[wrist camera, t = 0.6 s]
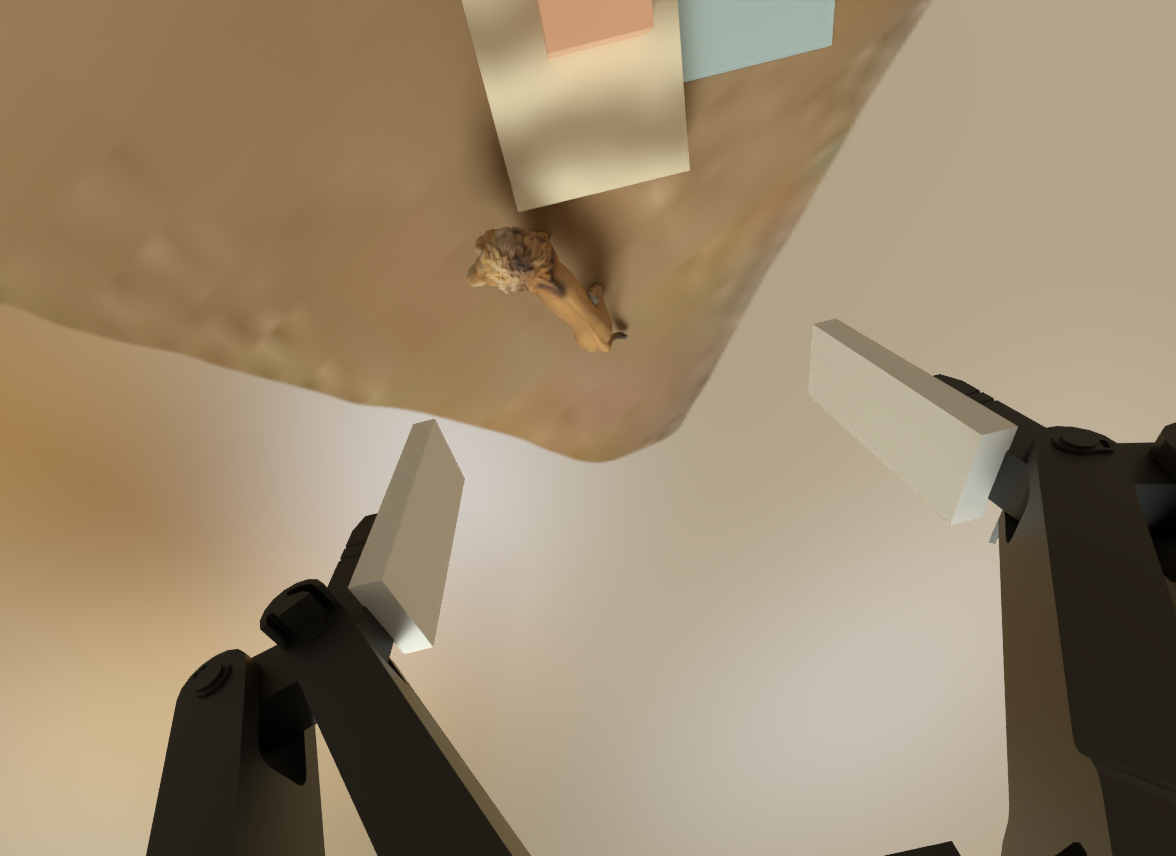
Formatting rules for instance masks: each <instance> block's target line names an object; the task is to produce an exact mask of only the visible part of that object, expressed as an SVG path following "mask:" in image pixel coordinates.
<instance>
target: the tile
mask: <svg viewBox="0 0 1176 856" xmlns="http://www.w3.org/2000/svg"><path fill="white" fill-rule="evenodd" d="M536 5H537V10H538V15H539V20H540V25H541V30H542V35H543V40H544V45H545V50H546V55H547V60H548V59H552V58H556V57H560V56H564V55H568V54H572V53H576V52H579V51H583V50H587V49H591V48H595V47H599V46H603V45H607V44H611V43H615V42H619V41H623V40H627V39H631V38H635V37H639V36H643V35H646V34H647V33H648V32H649V31H650V30H651V29H652V28H653V27H654V19H653V9H652V0H536Z"/></svg>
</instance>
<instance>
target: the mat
mask: <svg viewBox="0 0 1176 856" xmlns="http://www.w3.org/2000/svg"><path fill="white" fill-rule="evenodd" d="M834 7H835V0H678V14H679V28H680V42H681V56H682V70H683V83H684V82H688V81H692V80H696V79H700V78H704V77H708V76H712V75H716V74H720V73H724V72H728V71H732V70H736V69H740V68H744V67H748V66H752V65H756V64H760V63H764V62H768V61H772V60H776V59H780V58H784V57H788V56H792V55H796V54H800V53H804V52H808V51H812V50H816V49H820V48H824V47H828V46H831V45H832V35H833V21H834Z"/></svg>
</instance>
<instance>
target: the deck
mask: <svg viewBox="0 0 1176 856" xmlns="http://www.w3.org/2000/svg"><path fill="white" fill-rule="evenodd" d="M462 3H463V7H464V11H465V15H466V18H467V22H468V26H469V30H470V33H471V37H472V41H473V45H474V48H475V52H476V56H477V60H478V63H479V67H480V71H481V75H482V78H483V82H484V86H485V90H486V93H487V97H488V101H489V105H490V108H491V112H492V116H493V120H494V123H495V127H496V131H497V135H498V138H499V142H500V146H501V150H502V153H503V157H504V161H505V165H506V168H507V172H508V176H509V180H510V183H511V187H512V191H513V195H514V198H515V202H516V206H517V210H518V212H522V211H526V210H530V209H534V208H539V207H543V206H547V205H551V204H555V203H559V202H563V201H567V200H571V199H575V198H579V197H583V196H587V195H591V194H595V193H600V192H604V191H608V190H612V189H616V188H620V187H624V186H628V185H632V184H636V183H640V182H644V181H648V180H652V179H656V178H660V177H665V176H669V175H673V174H677V173H681V172H685V171H689V170H690V168H689V154H688V140H687V126H686V112H685V98H684V84H683V70H682V56H681V42H680V28H679V14H678V0H652V9H653V19H654V27H653V28H652V29H651V30H650V31H649V32H648V33H647V34H646V35H643V36H639V37H635V38H631V39H627V40H623V41H619V42H615V43H611V44H607V45H603V46H599V47H595V48H591V49H587V50H583V51H579V52H576V53H572V54H568V55H564V56H560V57H556V58H552V59H548V60H547V55H546V50H545V45H544V40H543V35H542V30H541V25H540V20H539V15H538V10H537V5H536V0H462Z"/></svg>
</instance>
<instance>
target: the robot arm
mask: <svg viewBox="0 0 1176 856" xmlns="http://www.w3.org/2000/svg"><path fill="white" fill-rule="evenodd" d="M808 395H809V396H811V397H812V398H813V399H814V400H815V401H816V402H817V403H818V404H819V405H820V406H821V407H823V408H824V409H825V410H826V411H827V412H828V413H829V414H830V415H831V416H832V417H833V418H835V419H836V420H837V421H838V422H839V423H840V424H841V425H842V426H843V427H844V428H845V429H846V430H848V431H849V432H850V433H851V434H852V435H853V436H854V437H855V438H856V439H857V440H858V441H860V442H861V443H862V444H863V445H864V446H865V447H866V448H867V449H868V450H869V451H870V452H871V453H873V454H874V455H875V456H876V457H877V458H878V459H879V460H880V461H881V462H882V463H883V464H885V465H886V466H887V467H888V468H889V469H890V470H891V471H892V472H893V473H894V474H895V475H897V476H898V477H899V478H900V479H901V480H902V481H903V482H904V483H905V484H906V485H907V486H908V487H909V488H911V489H912V490H913V491H914V492H915V493H916V494H917V495H918V496H919V497H920V498H921V499H923V500H924V501H925V502H926V503H927V504H928V505H929V506H930V507H931V508H932V509H934V510H935V511H936V512H937V513H938V514H939V515H940V516H941V517H942V518H943V519H944V520H945V521H946V522H948V523H949V524H950V525H952V524H957V523H961V522H966V521H970V520H974V519H978V518H982V515H983V513H984V510H985V508H986V505H987V503H988V500H989V499H990V500H991V501H992V502H994V503H995V504H996V505H997V506H999V507H1000V508H1001V509H1002V512H1001V515H1000V517H999V520H998V522H997V524H996V527H995V529H994V531H993V533H992V536H991V538H990V541H989V542H990V543H994V544H995V543H996V540H997V538H998V537H999V554H1000V579H1001V605H1002V630H1003V656H1004V681H1005V707H1006V731H1007V732H1006V733H1007V758H1008V783H1009V818H1008V824H1007V828H1006V832H1005V836H1004V839H1003V845H1002V853H1001V856H1176V423H1173V424H1170V425H1167V426H1165V427H1164V429H1163V430H1162V432H1161V434H1160V435H1159V437H1158V438H1157V440H1156V441H1155V442H1154V443H1116V442H1114V441H1113V440H1111V439H1109V438H1108V437H1106V436H1104V435H1101V434H1098V433H1095V432H1093V431H1090V430H1086V429H1080V428H1076V427H1064V426H1063V427H1062V426H1055V427H1049V428H1046V427H1044V426H1042V425H1040V424H1038V423H1037V422H1035V421H1033V420H1031V419H1029V418H1028V417H1026V416H1024V415H1022V414H1021V413H1019V412H1017V411H1015V410H1013V409H1012V408H1010V407H1008V406H1006V405H1004V404H1003V403H1001V402H999V401H994V399H993V398H992V397H990V396H989V395H987V394H985V393H980V391H979V390H978V389H976V388H974V387H973V386H971V385H969V384H967V383H965V382H964V381H961V380H958V379H954V378H951V377H948V376H944V375H941V374H939V375H935V376H932V375H930V374H929V373H927V372H925V371H923V370H922V369H920V368H918V367H917V366H915V365H913V364H912V363H910V362H908V361H907V360H905V359H903V358H901V357H900V356H898V355H896V354H895V353H893V352H891V351H890V350H888V349H886V348H885V347H883V346H881V345H880V344H878V343H876V342H874V341H873V340H871V339H869V338H867V337H866V336H864V335H862V334H861V333H859V332H857V331H856V330H854V329H852V328H851V327H849V326H847V325H846V324H844V323H842V322H841V321H839V320H837V319H832V320H828V321H824V322H820V323H816V324H813V331H812V345H811V360H810V373H809V387H808ZM463 485H464V477H463V474H462V472H461V470H460V468H459V467H458V465H457V462H456V460H455V458H454V456H453V454H452V453H451V450H450V448H449V446H448V445H447V443H446V440H445V438H444V436H443V434H442V432H441V430H440V428H439V426H438V424H437V422H436V420H435V419H432V420H428V421H424V422H421V423H416V424H413V426H412V429H411V432H410V434H409V436H408V439H407V441H406V444H405V446H404V449H403V451H402V454H401V456H400V459H399V462H398V464H397V466H396V469H395V472H394V474H393V477H392V479H391V482H390V484H389V486H388V489H387V491H386V494H385V497H384V499H383V501H382V504H381V506H380V509H379V512H378V513H377V514H373V515H369V516H365V517H364V518H363V519H362V521H361V522H360V523H359V524H358V525H357V526H356V528H355V529H354V530H353V531H352V533H351V536H350V538H349V540H348V542H347V544H346V549H344V551H343V553H342V556H341V561H340V562H338V565H337V567H336V569H335V571H334V574H333V576H332V578H331V580H330V583H329V585H328V587H326V586H325V585H324V584H323V583H322V582H320V581H319V580H317V579H307V580H304V581H301V582H299V583H296V584H294V585H292V586H291V587H289V588H287V589H285V590H284V591H283V592H282V593H280V594H279V595H278V596H277V597H276V598H275V599H273V601H272V602H271V603H270V604H269V605H268V607H267V608H266V609H265V611H264V613H263V615H262V617H261V620H260V629H261V630H262V631H263V632H264V633H265V634H266V635H267V636H268V637H270V638H271V639H272V640H273V641H274V642H275V643H276V644H277V645H276V646H274V647H272V648H270V649H268V650H266V651H264V652H263V653H260V654H258V655H256V656H254V657H253V658H250V657H249V656H248V655H247V654H246V653H244V652H243V651H241V650H239V649H234V650H227V651H225V652H223V653H220V654H218V655H216V656H215V657H213V658H211V659H210V660H209V661H207V662H206V663H204V664H203V665H202V666H201V667H200V668H199V669H198V670H196V671H195V672H194V674H192V676H190V678H189V679H188V681H187V682H186V683H185V685H184V686H183V687H182V689H181V692H180V694H179V696H178V699H177V702H176V707H175V712H174V717H173V722H172V727H171V732H170V737H169V742H168V747H167V752H166V758H165V762H164V768H163V773H162V778H161V783H160V788H159V793H158V798H157V803H156V808H155V813H154V818H153V823H152V829H151V834H150V839H149V844H148V849H147V854H146V856H325V849H324V838H323V823H322V810H321V798H320V785H319V772H318V759H317V746H316V734H315V724H318V726H319V728H320V730H321V733H322V735H323V737H324V739H325V741H326V744H327V746H328V748H329V750H330V752H331V755H332V757H333V759H334V761H335V763H336V766H337V768H338V770H339V772H340V774H341V777H342V779H343V781H344V783H345V785H346V788H347V790H348V792H349V794H350V796H351V799H352V801H353V803H354V805H355V807H356V809H357V812H358V814H359V816H360V818H361V821H362V823H363V825H364V827H365V829H366V831H367V834H368V836H369V838H370V840H371V842H372V845H373V847H374V849H375V851H376V853H377V856H531V855H530V854H529V852H528V851H527V850H526V848H525V847H524V845H523V844H522V842H521V841H520V840H519V838H518V837H517V835H516V834H515V833H514V831H513V830H512V828H511V827H510V826H509V824H508V823H507V822H506V820H505V818H504V817H503V816H502V814H501V813H500V811H499V810H498V809H497V807H496V806H495V804H494V803H493V802H492V800H491V799H490V798H489V796H488V795H487V793H486V792H485V790H484V789H483V787H482V786H481V785H480V783H479V782H478V780H477V779H476V778H475V776H474V775H473V773H472V772H471V770H470V769H469V768H468V766H467V765H466V764H465V762H464V761H463V759H462V758H461V756H460V755H459V754H458V752H457V751H456V749H455V748H454V747H453V745H452V744H451V742H450V741H449V739H448V738H447V737H446V735H445V734H444V732H443V731H442V730H441V728H440V727H439V725H438V724H437V723H436V721H435V720H434V718H433V717H432V715H431V714H430V713H429V711H428V710H427V708H426V707H425V706H424V704H423V703H422V701H421V700H420V698H419V697H418V696H417V694H416V693H415V692H414V690H413V689H412V687H411V686H410V684H409V683H408V682H407V680H406V679H405V678H404V676H403V675H402V673H401V672H400V670H399V669H398V667H397V666H396V665H395V663H394V662H393V661H392V660H391V659H390V658H389V656H390V653H391V649H392V646H393V642H394V643H395V644H396V645H397V646H398V648H399V649H400V650H401V651H402V652H403V653H404V654H406V653H410V652H415V651H419V650H423V649H427V648H431V647H433V644H434V640H435V635H436V629H437V623H438V619H439V613H440V608H441V602H442V597H443V591H444V586H445V581H446V576H447V570H448V565H449V560H450V554H451V549H452V543H453V538H454V532H455V527H456V521H457V516H458V511H459V505H460V500H461V495H462V490H463ZM885 856H960V854H959V852H958V851H957V849H956V847H955V846H954V844H953V842H952V841H950V842H945V843H941V844H936V845H931V846H927V847H922V848H917V849H913V850H908V851H904V852H899V853H895V854H890V855H885Z"/></svg>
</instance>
